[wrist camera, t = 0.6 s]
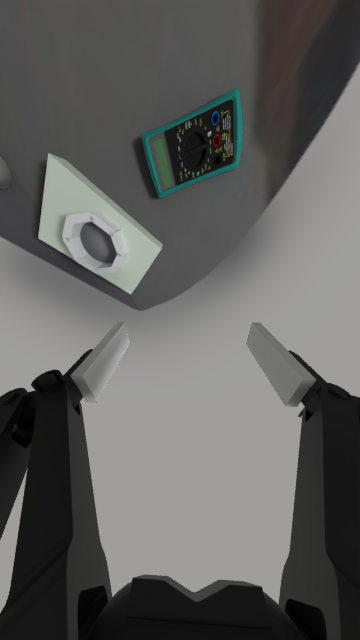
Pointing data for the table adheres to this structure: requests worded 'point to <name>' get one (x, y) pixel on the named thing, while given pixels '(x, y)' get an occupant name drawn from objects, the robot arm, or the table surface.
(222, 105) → the digital multimeter
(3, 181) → the white grey-capped cylinder
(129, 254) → the octagonal ring base plate
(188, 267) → the table surface
